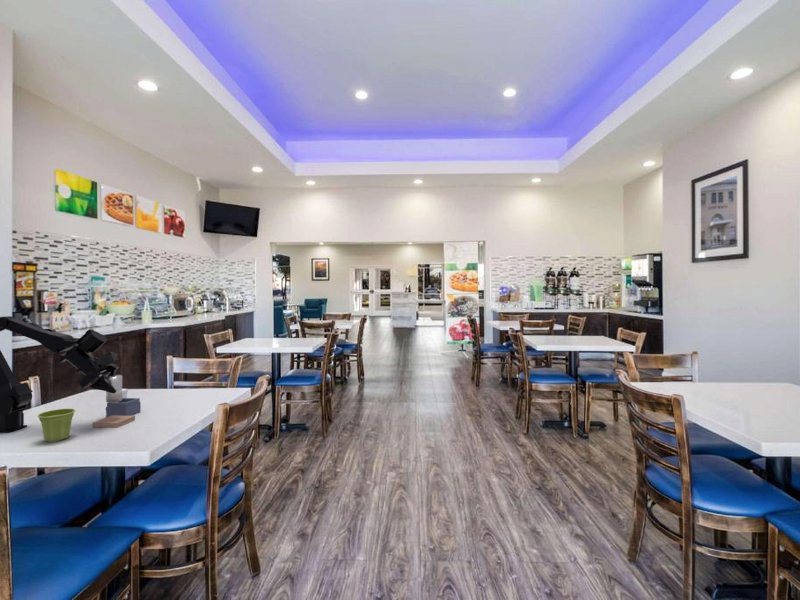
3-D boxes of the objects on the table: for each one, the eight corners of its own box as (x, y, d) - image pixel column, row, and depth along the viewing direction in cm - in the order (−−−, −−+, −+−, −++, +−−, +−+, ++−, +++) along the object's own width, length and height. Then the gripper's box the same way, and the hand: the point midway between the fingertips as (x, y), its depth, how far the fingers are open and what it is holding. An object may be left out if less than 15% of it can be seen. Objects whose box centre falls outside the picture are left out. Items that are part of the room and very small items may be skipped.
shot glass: (116, 409, 167) (115, 392, 167) (104, 408, 170) (104, 391, 170) (131, 405, 174) (131, 388, 174) (120, 403, 176) (120, 387, 176)
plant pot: (73, 440, 131) (73, 413, 131) (34, 446, 126) (34, 418, 126) (77, 432, 139) (77, 407, 139) (41, 437, 134) (40, 411, 134)
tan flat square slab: (116, 427, 144) (116, 423, 144) (92, 426, 145) (92, 422, 145) (135, 419, 153) (134, 415, 153) (112, 419, 154) (112, 415, 154)
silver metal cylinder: (111, 403, 146) (111, 377, 146) (103, 401, 148) (103, 376, 147) (125, 400, 150) (125, 375, 150) (116, 398, 152) (116, 374, 152)
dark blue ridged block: (125, 417, 156) (125, 403, 156) (106, 417, 156) (106, 402, 156) (140, 411, 164) (140, 398, 164) (121, 411, 164) (121, 397, 164)
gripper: (89, 348, 139) (125, 379, 141) (113, 342, 157) (145, 370, 160) (61, 372, 137) (99, 403, 140) (89, 364, 155) (122, 391, 158)
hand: (118, 390), depth 149 cm, fingers closed on silver metal cylinder, 5 cm apart
